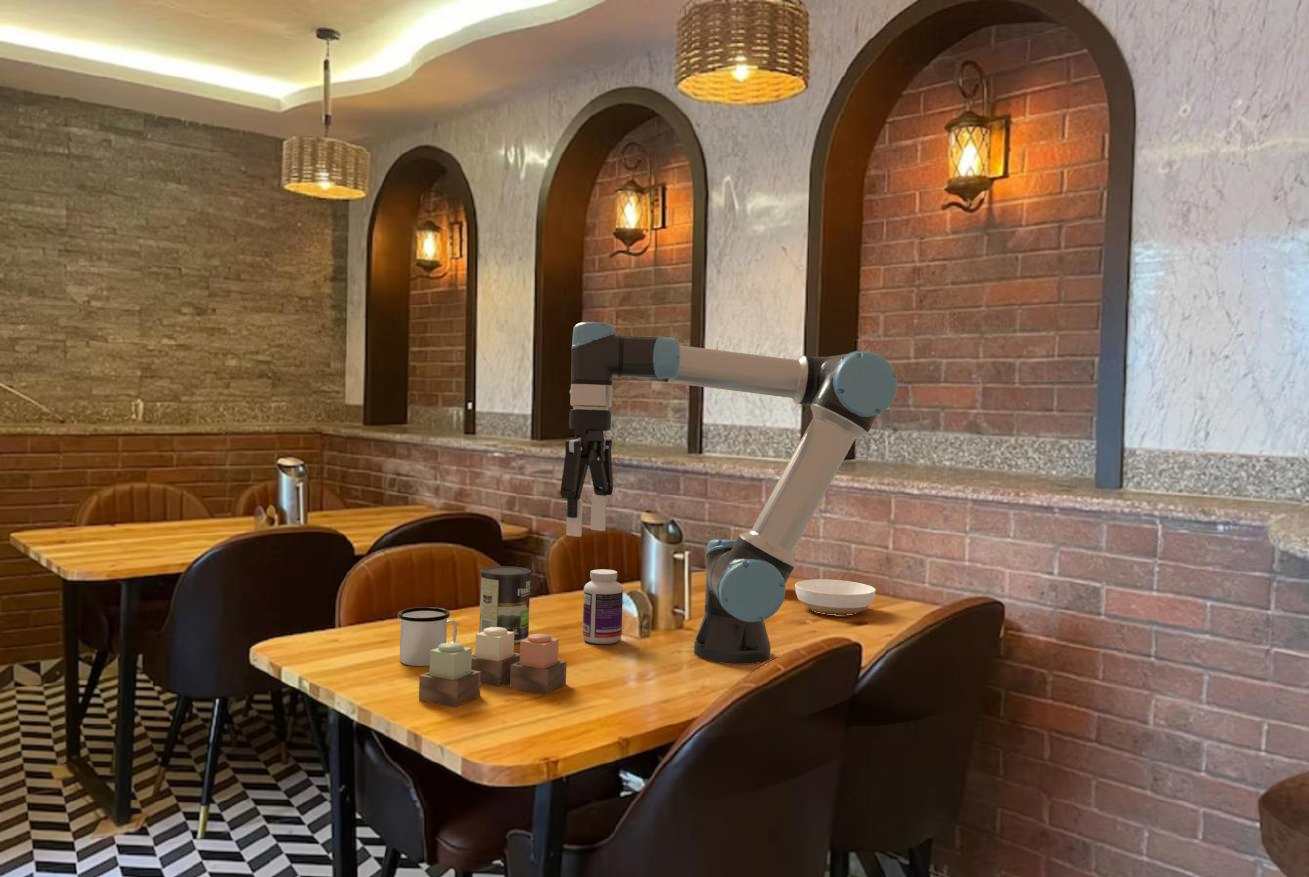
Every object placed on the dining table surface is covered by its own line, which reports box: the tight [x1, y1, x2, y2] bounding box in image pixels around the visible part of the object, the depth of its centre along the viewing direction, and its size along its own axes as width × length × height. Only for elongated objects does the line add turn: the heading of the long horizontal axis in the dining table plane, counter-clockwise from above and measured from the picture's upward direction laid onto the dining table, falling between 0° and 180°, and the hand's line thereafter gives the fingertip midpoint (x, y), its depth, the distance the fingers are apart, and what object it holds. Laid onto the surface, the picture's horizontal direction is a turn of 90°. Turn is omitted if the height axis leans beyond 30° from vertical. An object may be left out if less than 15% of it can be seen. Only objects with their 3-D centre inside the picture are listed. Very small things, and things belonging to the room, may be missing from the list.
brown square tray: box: [418, 670, 481, 708], centre depth 158 cm, size 7×7×4 cm
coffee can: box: [478, 565, 532, 645], centre depth 199 cm, size 10×10×14 cm
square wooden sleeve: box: [471, 652, 520, 687], centre depth 170 cm, size 7×7×4 cm
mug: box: [397, 606, 458, 667], centre depth 181 cm, size 12×10×9 cm
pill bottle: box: [582, 568, 624, 645], centre depth 200 cm, size 8×8×14 cm
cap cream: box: [474, 627, 515, 662], centre depth 170 cm, size 5×5×7 cm
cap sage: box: [428, 642, 473, 680], centre depth 158 cm, size 5×5×7 cm
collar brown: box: [509, 659, 567, 696], centre depth 167 cm, size 7×7×4 cm
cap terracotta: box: [519, 633, 560, 669], centre depth 167 cm, size 5×5×7 cm
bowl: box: [794, 578, 877, 615], centre depth 238 cm, size 20×20×6 cm
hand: (586, 532), depth 176 cm, fingers open, 9 cm apart
